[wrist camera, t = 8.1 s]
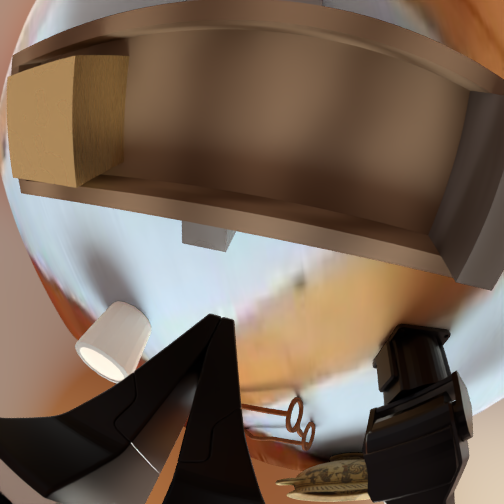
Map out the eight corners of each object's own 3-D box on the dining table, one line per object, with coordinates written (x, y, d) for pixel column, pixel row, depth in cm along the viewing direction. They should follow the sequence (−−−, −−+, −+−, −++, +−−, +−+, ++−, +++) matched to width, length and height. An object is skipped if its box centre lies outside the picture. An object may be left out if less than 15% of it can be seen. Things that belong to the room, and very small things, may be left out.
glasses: (317, 426, 37) (314, 453, 33) (242, 427, 42) (236, 451, 37) (297, 388, 31) (293, 424, 27) (206, 390, 36) (196, 420, 32)
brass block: (129, 56, 10) (75, 55, 7) (124, 161, 14) (76, 187, 11) (56, 68, 11) (7, 77, 8) (57, 155, 14) (13, 177, 11)
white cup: (100, 290, 28) (65, 333, 22) (151, 306, 27) (120, 358, 21) (113, 330, 32) (87, 371, 26) (160, 346, 31) (136, 393, 25)
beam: (492, 92, 9) (556, 106, 4) (446, 246, 14) (481, 306, 10) (49, 51, 11) (-11, 59, 7) (53, 175, 17) (1, 205, 12)
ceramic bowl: (265, 460, 51) (257, 496, 43) (307, 432, 38) (300, 486, 30) (372, 470, 51) (371, 502, 43) (435, 440, 37) (438, 481, 29)
